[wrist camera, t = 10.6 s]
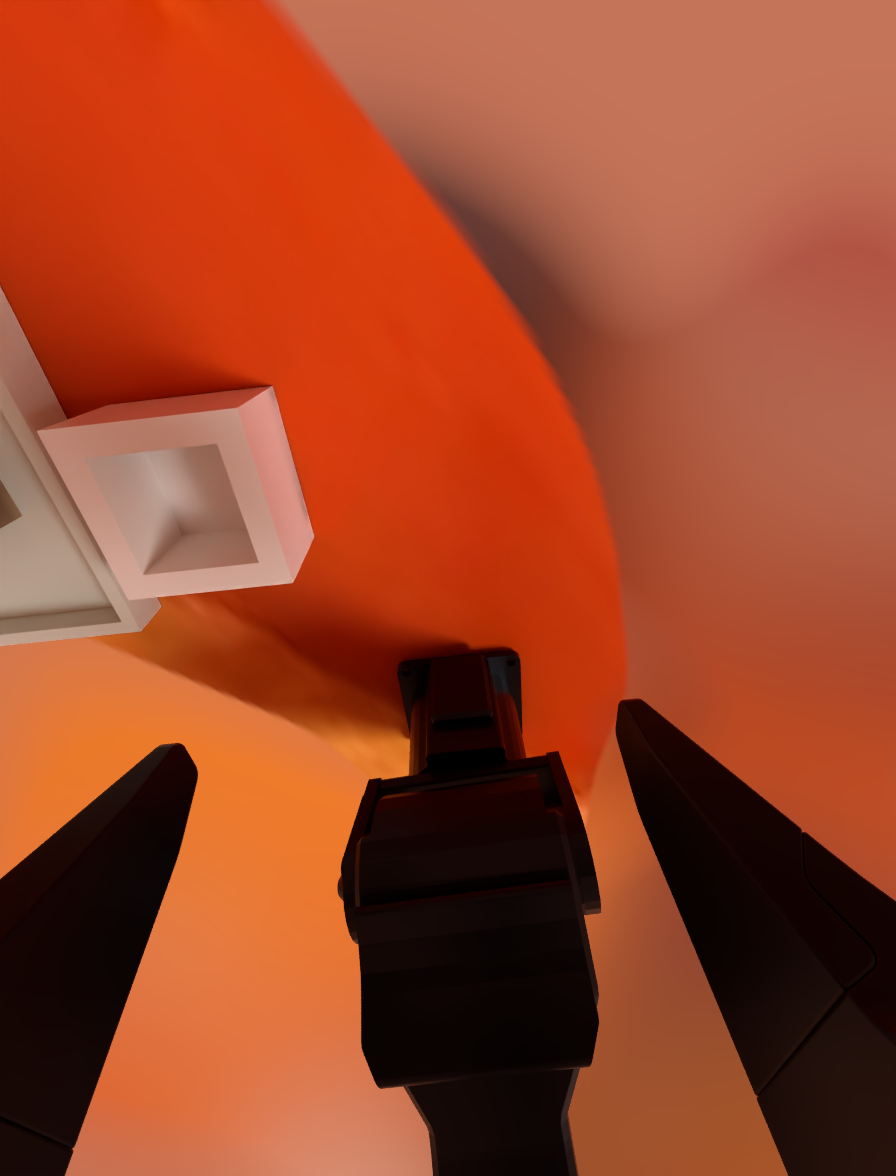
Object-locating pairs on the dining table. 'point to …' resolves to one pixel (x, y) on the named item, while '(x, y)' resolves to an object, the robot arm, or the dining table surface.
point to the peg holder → (187, 491)
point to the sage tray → (48, 521)
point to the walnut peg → (7, 507)
